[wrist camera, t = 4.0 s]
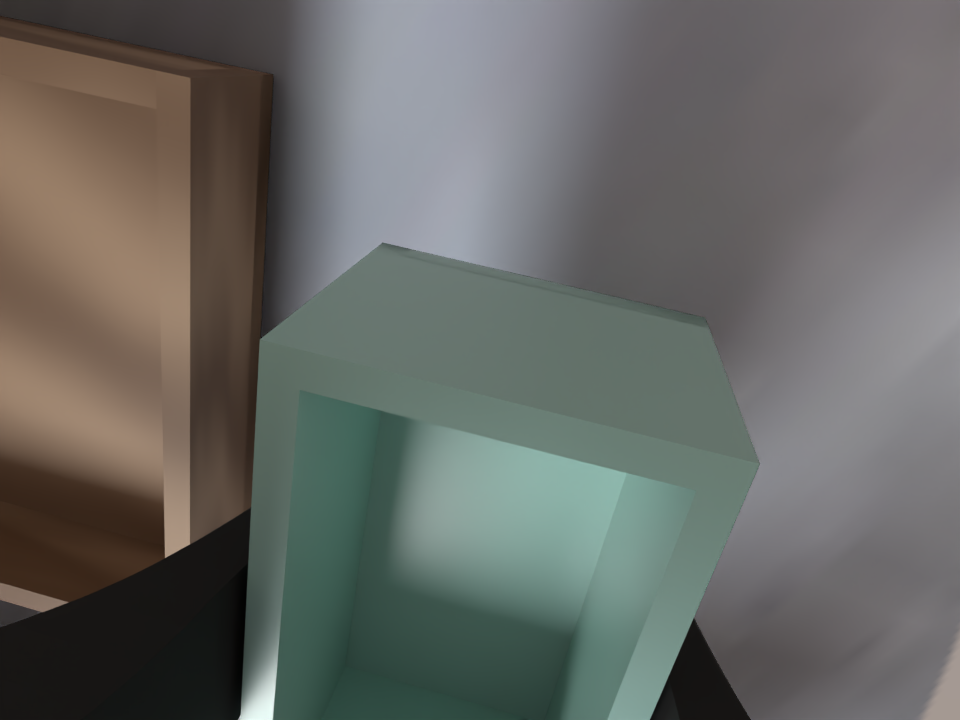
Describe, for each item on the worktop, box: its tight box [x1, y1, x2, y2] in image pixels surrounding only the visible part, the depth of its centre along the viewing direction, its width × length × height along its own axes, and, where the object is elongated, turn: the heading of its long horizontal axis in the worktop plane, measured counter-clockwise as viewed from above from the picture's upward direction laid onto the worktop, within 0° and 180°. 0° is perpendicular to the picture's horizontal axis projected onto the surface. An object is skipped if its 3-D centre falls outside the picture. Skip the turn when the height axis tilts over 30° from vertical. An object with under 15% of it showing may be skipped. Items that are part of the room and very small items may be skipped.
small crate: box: [240, 243, 760, 720], centre depth 11 cm, size 10×6×4 cm, turn 170°
